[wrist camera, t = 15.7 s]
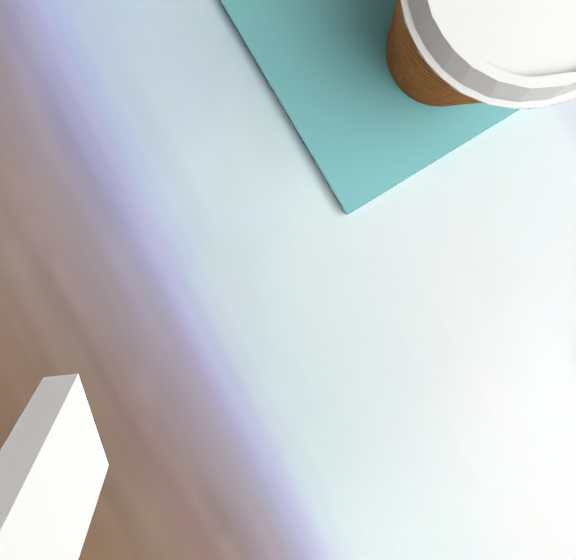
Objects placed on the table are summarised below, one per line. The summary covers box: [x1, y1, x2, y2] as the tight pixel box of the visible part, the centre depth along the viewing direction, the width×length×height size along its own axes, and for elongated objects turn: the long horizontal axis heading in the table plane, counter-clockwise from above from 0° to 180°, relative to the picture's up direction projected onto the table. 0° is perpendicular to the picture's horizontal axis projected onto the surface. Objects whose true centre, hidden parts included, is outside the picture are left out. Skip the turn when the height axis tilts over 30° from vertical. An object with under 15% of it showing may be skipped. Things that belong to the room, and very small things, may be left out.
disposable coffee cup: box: [386, 0, 576, 109], centre depth 23 cm, size 10×10×12 cm
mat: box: [220, 0, 520, 214], centre depth 29 cm, size 14×14×1 cm
